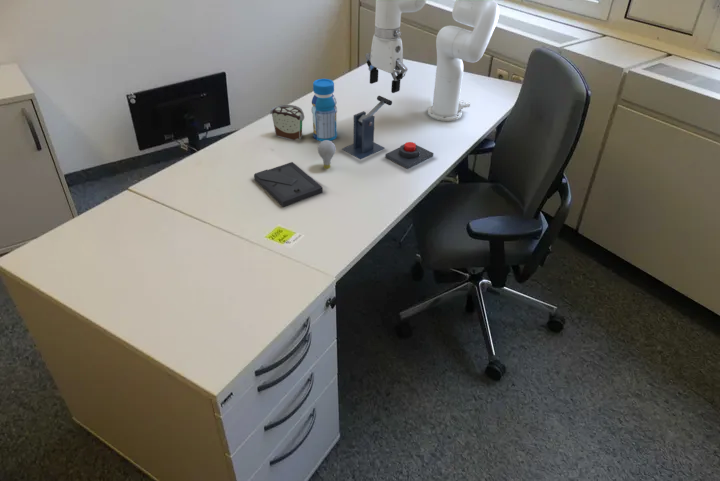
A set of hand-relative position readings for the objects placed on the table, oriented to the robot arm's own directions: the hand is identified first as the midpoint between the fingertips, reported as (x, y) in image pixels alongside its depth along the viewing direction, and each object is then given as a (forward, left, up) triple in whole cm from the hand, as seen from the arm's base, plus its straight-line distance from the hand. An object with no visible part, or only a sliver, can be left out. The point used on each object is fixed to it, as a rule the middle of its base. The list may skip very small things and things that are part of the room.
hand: (384, 87), depth 172 cm
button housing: (-4, +13, -20) cm, 24 cm away
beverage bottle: (+17, -10, -20) cm, 28 cm away
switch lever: (+4, +2, -8) cm, 9 cm away
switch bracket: (+8, +3, -20) cm, 22 cm away
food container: (+27, -16, -20) cm, 37 cm away
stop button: (-4, +13, -16) cm, 21 cm away
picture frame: (+37, +15, -20) cm, 45 cm away
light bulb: (+23, +10, -20) cm, 32 cm away
